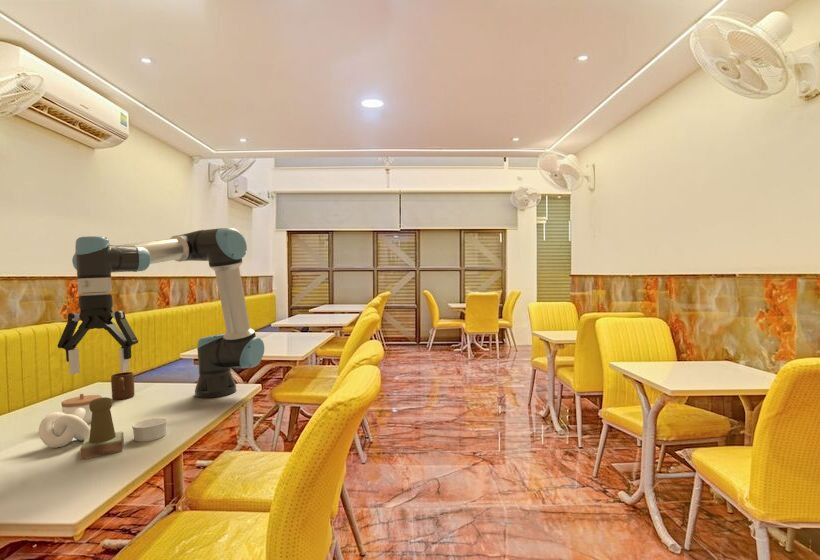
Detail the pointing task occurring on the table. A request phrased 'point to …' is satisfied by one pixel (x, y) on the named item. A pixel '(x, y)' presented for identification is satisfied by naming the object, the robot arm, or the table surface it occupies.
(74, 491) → the table surface
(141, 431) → the ramekin
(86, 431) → the white decorative knot
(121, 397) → the mug
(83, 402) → the lidded jar
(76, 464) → the table surface
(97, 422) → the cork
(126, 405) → the table surface
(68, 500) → the table surface
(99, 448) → the stand
